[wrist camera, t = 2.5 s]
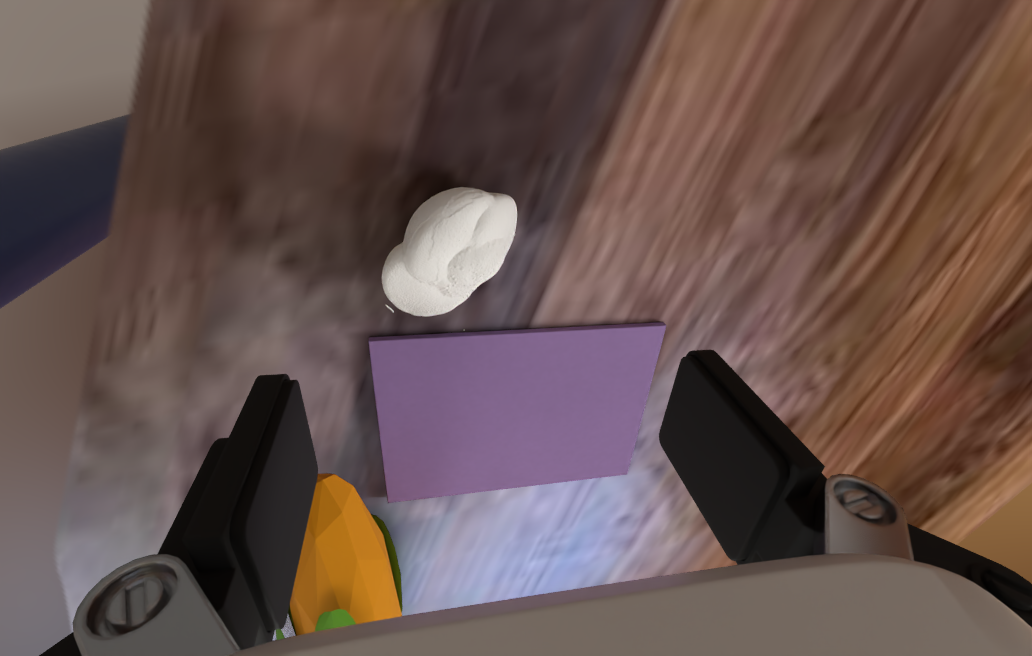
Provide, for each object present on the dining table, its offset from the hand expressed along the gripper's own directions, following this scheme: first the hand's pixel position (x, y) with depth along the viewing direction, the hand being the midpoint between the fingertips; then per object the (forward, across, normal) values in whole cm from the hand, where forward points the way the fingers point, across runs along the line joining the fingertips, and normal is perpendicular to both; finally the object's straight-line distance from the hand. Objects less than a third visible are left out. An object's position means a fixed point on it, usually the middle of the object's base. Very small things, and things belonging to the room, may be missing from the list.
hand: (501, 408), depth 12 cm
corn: (+12, +8, +21) cm, 25 cm away
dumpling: (+12, +1, 0) cm, 12 cm away
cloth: (+12, -3, +11) cm, 17 cm away
